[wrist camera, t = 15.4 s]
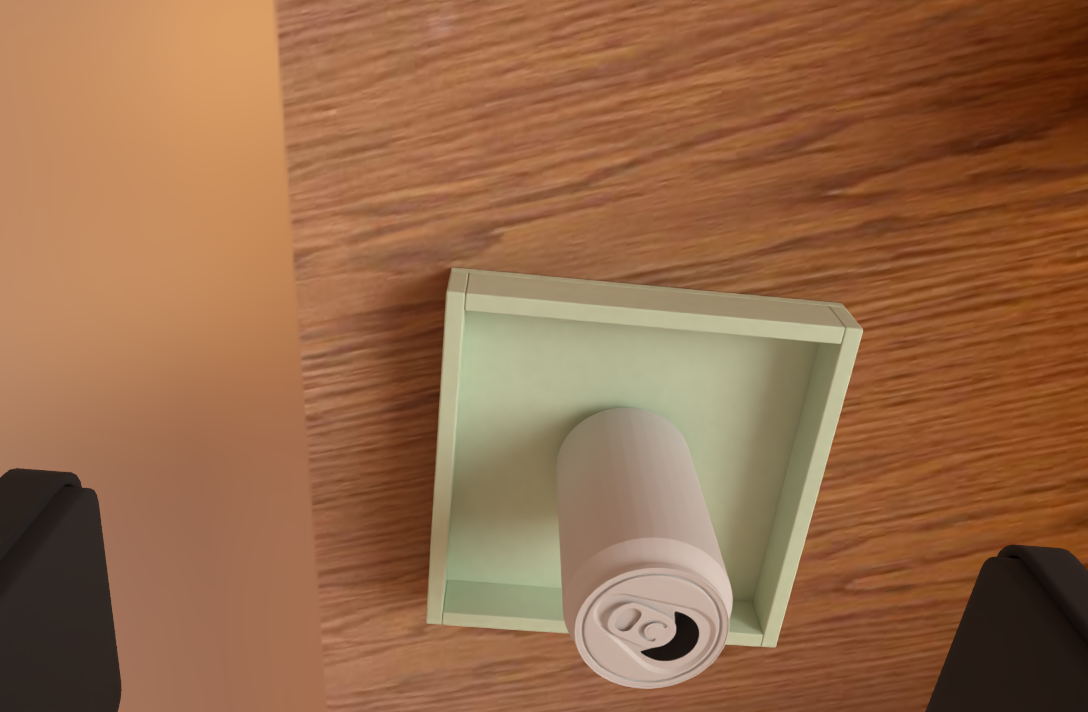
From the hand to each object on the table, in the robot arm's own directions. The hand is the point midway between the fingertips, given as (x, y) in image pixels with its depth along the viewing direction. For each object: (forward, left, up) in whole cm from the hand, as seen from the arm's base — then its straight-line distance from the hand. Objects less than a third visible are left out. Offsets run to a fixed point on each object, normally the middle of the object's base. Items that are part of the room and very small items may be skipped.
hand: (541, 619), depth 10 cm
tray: (+6, -16, -30) cm, 35 cm away
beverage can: (+6, -16, -30) cm, 34 cm away
